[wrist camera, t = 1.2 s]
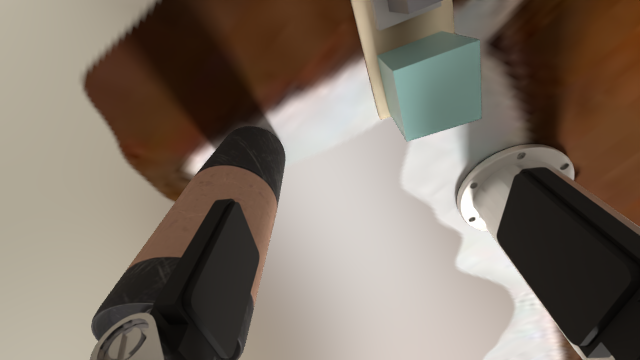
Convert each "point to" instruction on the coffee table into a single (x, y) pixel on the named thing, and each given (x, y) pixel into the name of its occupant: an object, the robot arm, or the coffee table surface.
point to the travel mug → (187, 215)
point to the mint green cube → (432, 83)
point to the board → (395, 39)
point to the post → (399, 10)
